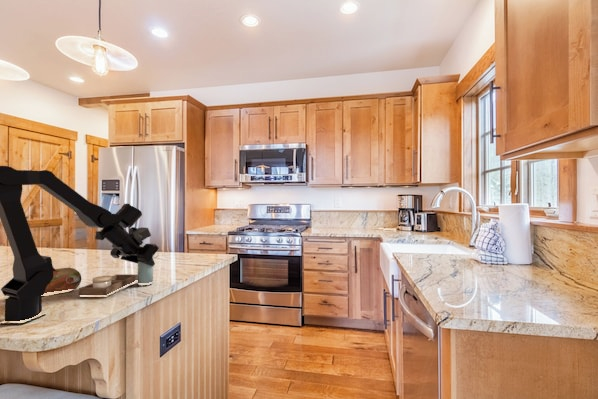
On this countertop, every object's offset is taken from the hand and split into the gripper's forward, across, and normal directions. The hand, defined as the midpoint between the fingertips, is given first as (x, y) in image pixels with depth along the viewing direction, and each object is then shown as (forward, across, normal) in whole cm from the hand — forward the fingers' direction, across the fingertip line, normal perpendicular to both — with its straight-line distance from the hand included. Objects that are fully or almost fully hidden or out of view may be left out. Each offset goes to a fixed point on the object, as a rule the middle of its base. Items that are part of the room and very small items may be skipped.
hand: (148, 264), depth 104 cm
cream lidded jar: (-5, +4, +15) cm, 17 cm away
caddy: (-2, +6, +12) cm, 14 cm away
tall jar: (+4, 0, +6) cm, 7 cm away
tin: (-10, +18, +20) cm, 29 cm away
